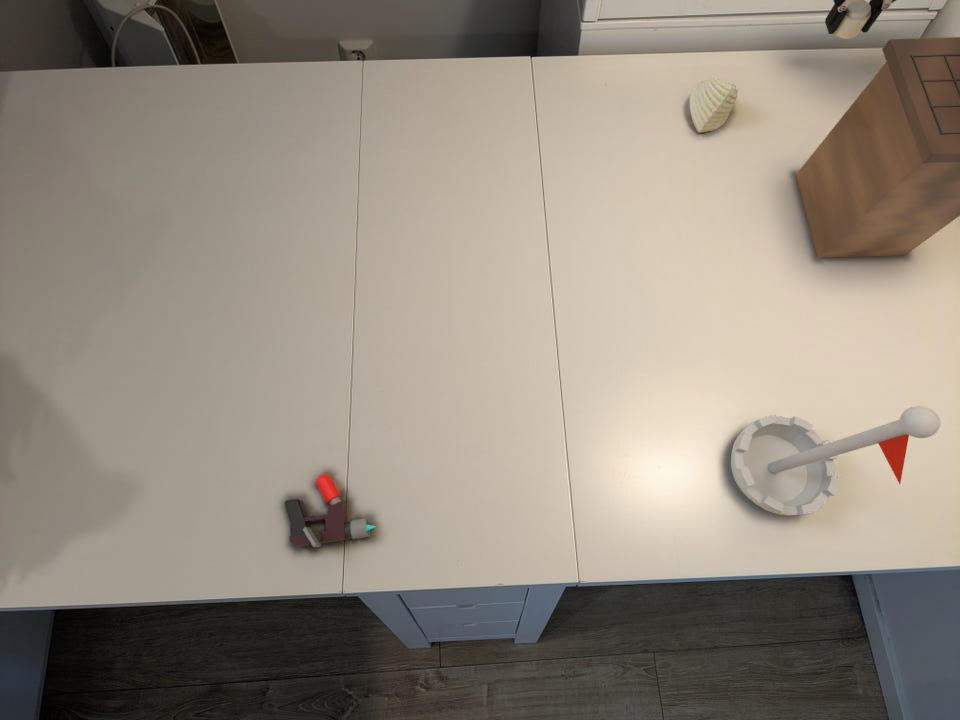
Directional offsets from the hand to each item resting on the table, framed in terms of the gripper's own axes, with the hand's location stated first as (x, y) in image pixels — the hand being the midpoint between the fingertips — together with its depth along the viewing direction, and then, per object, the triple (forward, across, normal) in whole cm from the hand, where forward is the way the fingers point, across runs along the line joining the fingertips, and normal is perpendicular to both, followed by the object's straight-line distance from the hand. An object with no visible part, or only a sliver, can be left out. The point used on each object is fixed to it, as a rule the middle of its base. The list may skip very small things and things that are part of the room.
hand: (846, 26), depth 94 cm
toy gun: (+8, +85, +77) cm, 114 cm away
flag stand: (+9, +24, +73) cm, 77 cm away
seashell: (+8, +23, +10) cm, 26 cm away
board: (+9, +3, +32) cm, 33 cm away
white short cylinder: (0, 0, 0) cm, 0 cm away
